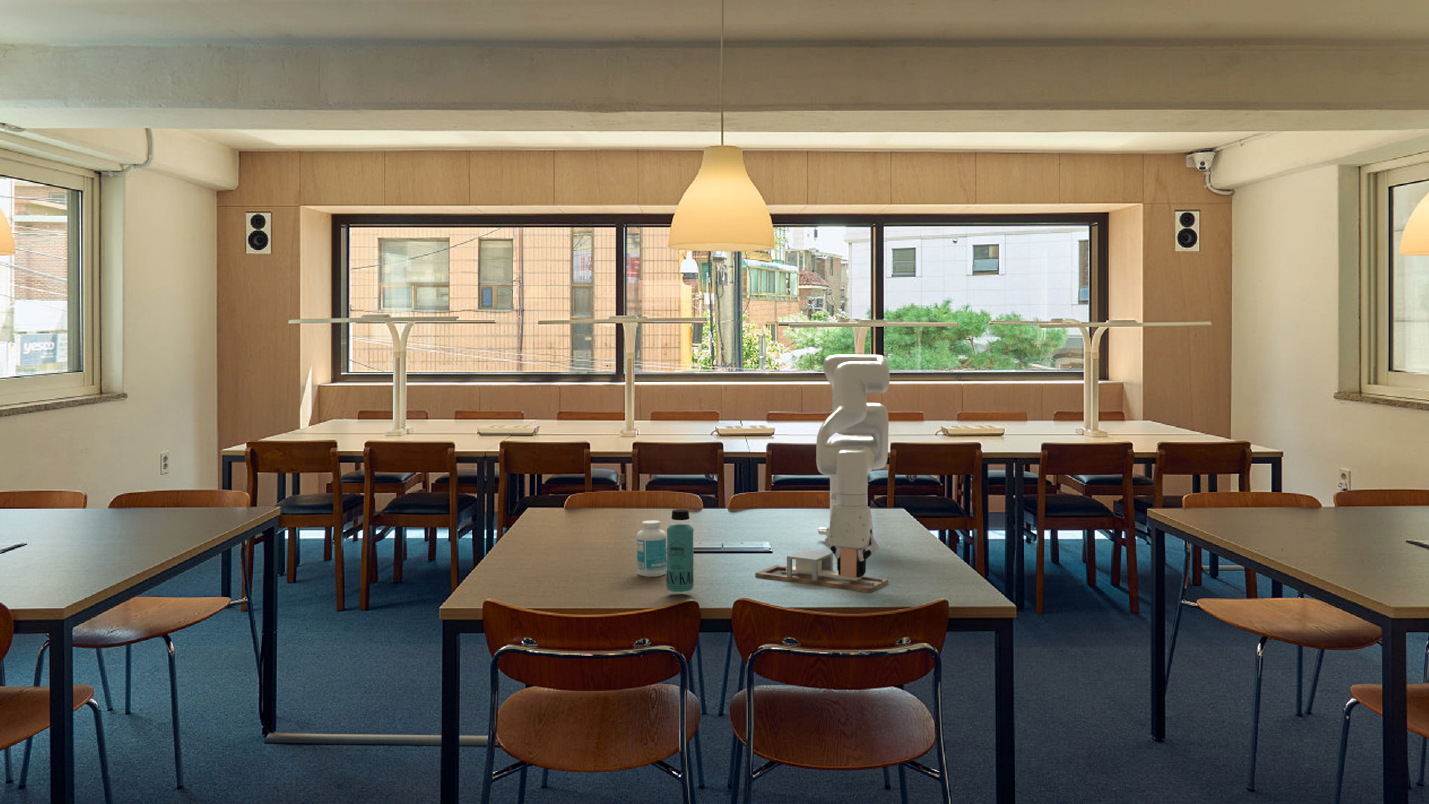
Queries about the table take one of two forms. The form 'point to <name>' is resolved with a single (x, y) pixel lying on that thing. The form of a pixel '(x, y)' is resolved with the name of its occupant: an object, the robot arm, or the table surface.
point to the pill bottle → (651, 550)
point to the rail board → (823, 580)
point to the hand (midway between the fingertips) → (851, 574)
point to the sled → (847, 571)
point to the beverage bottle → (679, 554)
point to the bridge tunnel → (814, 558)
